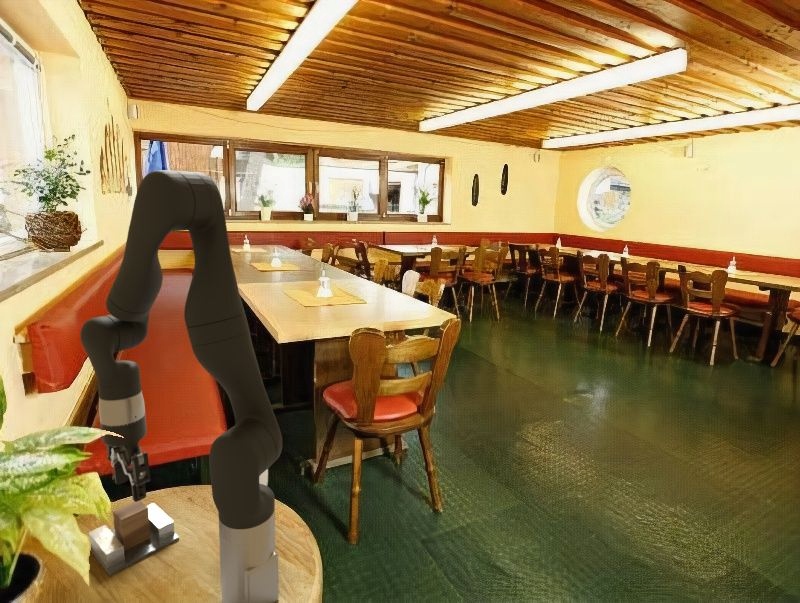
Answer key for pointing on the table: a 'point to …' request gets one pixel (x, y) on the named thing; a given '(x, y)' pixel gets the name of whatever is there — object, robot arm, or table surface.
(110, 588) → the table surface
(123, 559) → the grey metal u-shaped piece
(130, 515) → the walnut wick block
